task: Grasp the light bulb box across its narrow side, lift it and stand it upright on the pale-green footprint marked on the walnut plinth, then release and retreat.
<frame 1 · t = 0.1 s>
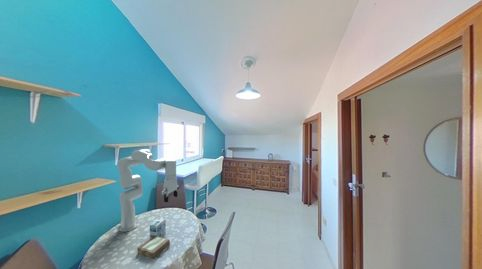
hand: (171, 199, 126), 31 cm above the table, fingers open, 9 cm apart
plinth: (154, 249, 117), on the table
light bulb box: (158, 235, 133), on the table
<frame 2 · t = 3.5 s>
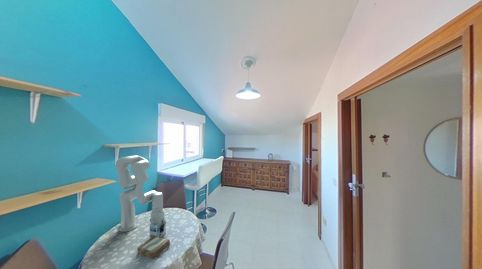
hand: (157, 230, 132), 3 cm above the table, fingers closed on light bulb box, 7 cm apart
light bulb box: (157, 235, 133), on the table, touching gripper
when the fingers open (9 cm above the table, at t = 8.7 s): light bulb box drops 1 cm, resting on plinth.
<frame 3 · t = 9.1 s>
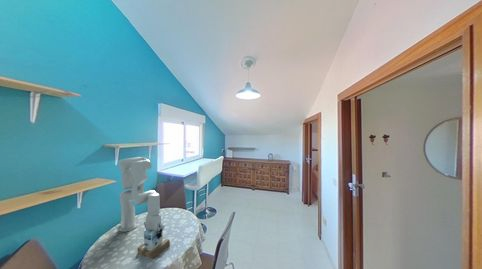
hand: (154, 236, 117), 9 cm above the table, fingers open, 9 cm apart
light bulb box: (153, 243, 117), point 4 cm above the table, touching plinth
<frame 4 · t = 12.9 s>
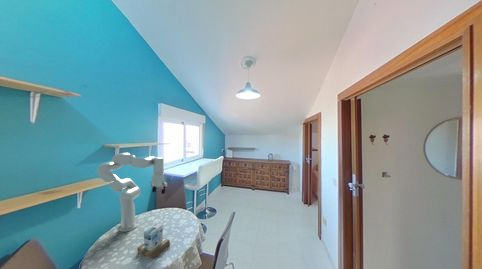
hand: (158, 192, 140), 30 cm above the table, fingers open, 9 cm apart
nothing on the table moved.
at the end: light bulb box inside the target area on the plinth (0.5 cm from its centre), point 4.0 cm above the plinth's base; light bulb box tilted 0°; the gripper is holding nothing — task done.
